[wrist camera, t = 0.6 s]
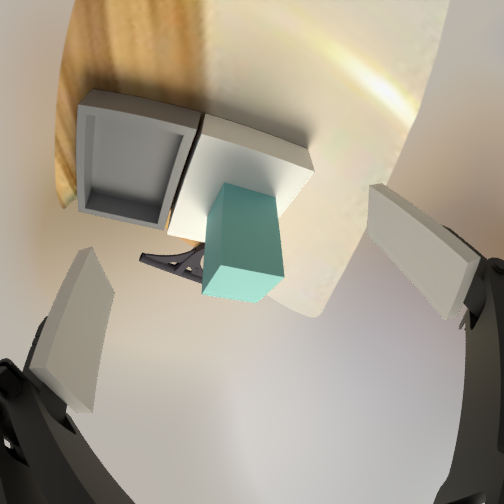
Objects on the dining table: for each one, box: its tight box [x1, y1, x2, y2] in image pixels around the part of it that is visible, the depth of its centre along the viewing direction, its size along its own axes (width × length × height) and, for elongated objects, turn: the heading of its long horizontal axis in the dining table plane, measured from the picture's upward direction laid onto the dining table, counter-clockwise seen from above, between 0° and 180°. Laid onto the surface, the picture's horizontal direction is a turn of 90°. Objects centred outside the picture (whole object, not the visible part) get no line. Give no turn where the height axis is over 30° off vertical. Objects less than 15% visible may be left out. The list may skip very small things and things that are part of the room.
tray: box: [76, 89, 201, 230], centre depth 29 cm, size 16×12×4 cm
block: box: [202, 182, 284, 303], centre depth 30 cm, size 6×6×10 cm
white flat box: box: [167, 114, 315, 243], centre depth 34 cm, size 16×12×4 cm
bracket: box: [139, 242, 205, 284], centre depth 47 cm, size 14×15×3 cm
